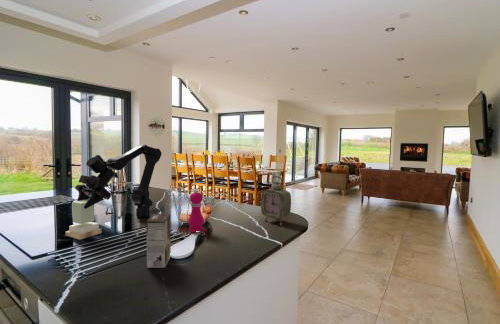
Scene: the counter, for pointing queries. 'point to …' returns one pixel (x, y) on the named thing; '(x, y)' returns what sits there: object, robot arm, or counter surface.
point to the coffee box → (158, 240)
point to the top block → (83, 227)
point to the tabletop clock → (276, 202)
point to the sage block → (82, 212)
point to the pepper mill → (196, 212)
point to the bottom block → (82, 236)
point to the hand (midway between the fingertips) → (80, 207)
